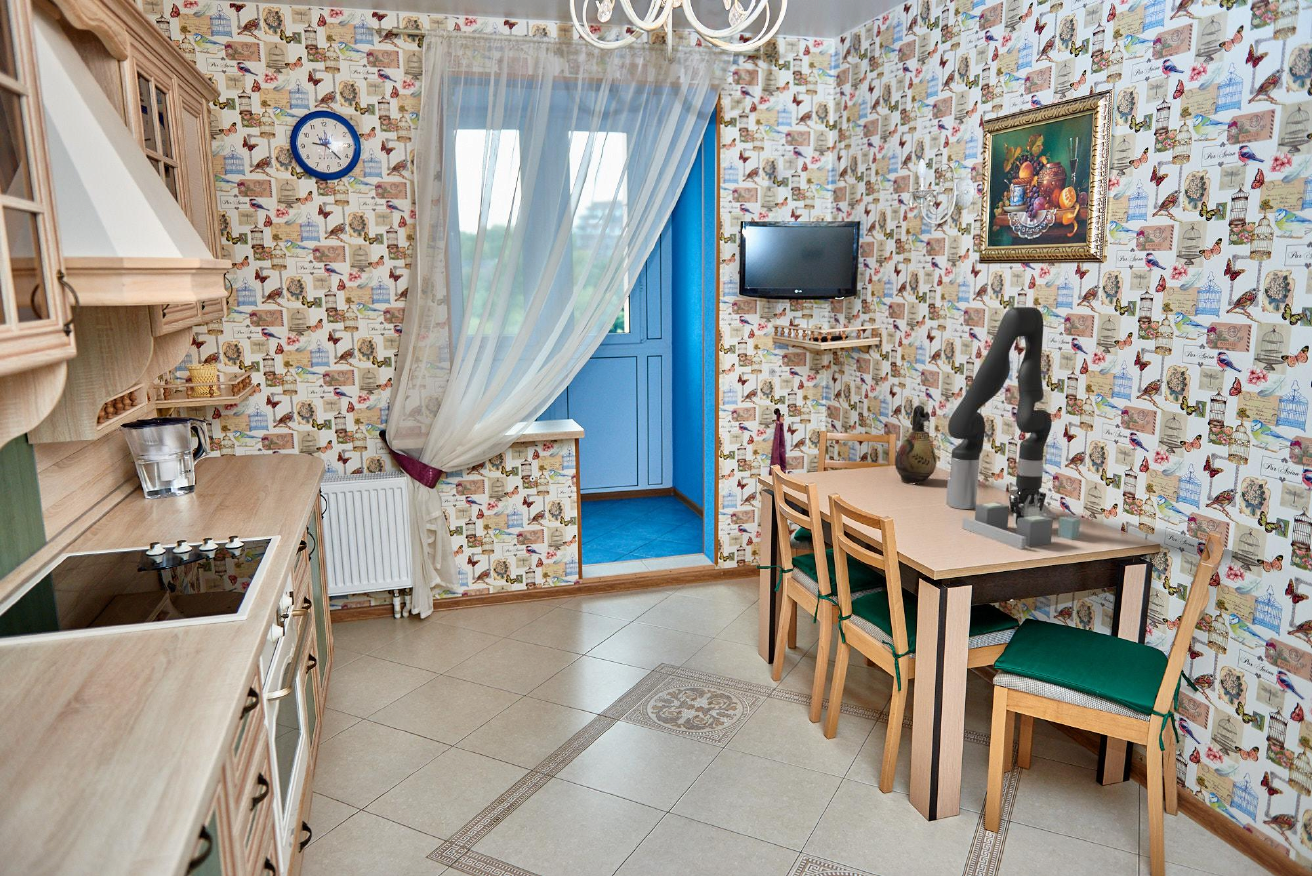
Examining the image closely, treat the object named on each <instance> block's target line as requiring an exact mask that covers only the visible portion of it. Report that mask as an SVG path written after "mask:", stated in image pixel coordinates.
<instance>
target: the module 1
mask: <svg viewBox="0 0 1312 876" xmlns="http://www.w3.org/2000/svg"><path fill="white" fill-rule="evenodd" d="M1021 505H1024V504H1021ZM1039 510H1040V508H1038V507H1035V506H1032V505H1028V506H1027V508H1025V510H1024V515H1023V516H1024V517H1030V516H1038V515H1039ZM1020 511H1021V507H1020ZM1012 516H1013V518H1012V527H1014V528H1017V525H1016V514H1015V513H1013V515H1012Z"/></svg>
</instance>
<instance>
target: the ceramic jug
mask: <svg viewBox="0 0 1312 876" xmlns="http://www.w3.org/2000/svg"><path fill="white" fill-rule="evenodd" d="M930 416H931V415H930V413H929V411H925V407H924V406H923V405H921V404H917V405H915V406H914V409H913V412H912V424H911V425H912V426H911V432H910V433H909V434H908V435H907V436H906V437H905V439H904V440H903V441H902V442H901V444H900V446H899V448H898V449H897V453H896V455H895V460H894V465H895V469H896V472H897V473H898V475H899V476H900V481H901V482H902V483H903V482H904V484H909V483H915V484H914V485H921V484H920V483H924V484H926V482H927V480H928V479H929V478H930V477H931V476H932V475H933V474H934V472H935V470H936V467H937V466H936V465H937V457H936V456H937V455H936V452H935V448H934V445H933V444H932V441H931V439H930V438H929V436H928V434H927V432H926V430H925V422H927V421H929V420H930Z"/></svg>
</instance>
